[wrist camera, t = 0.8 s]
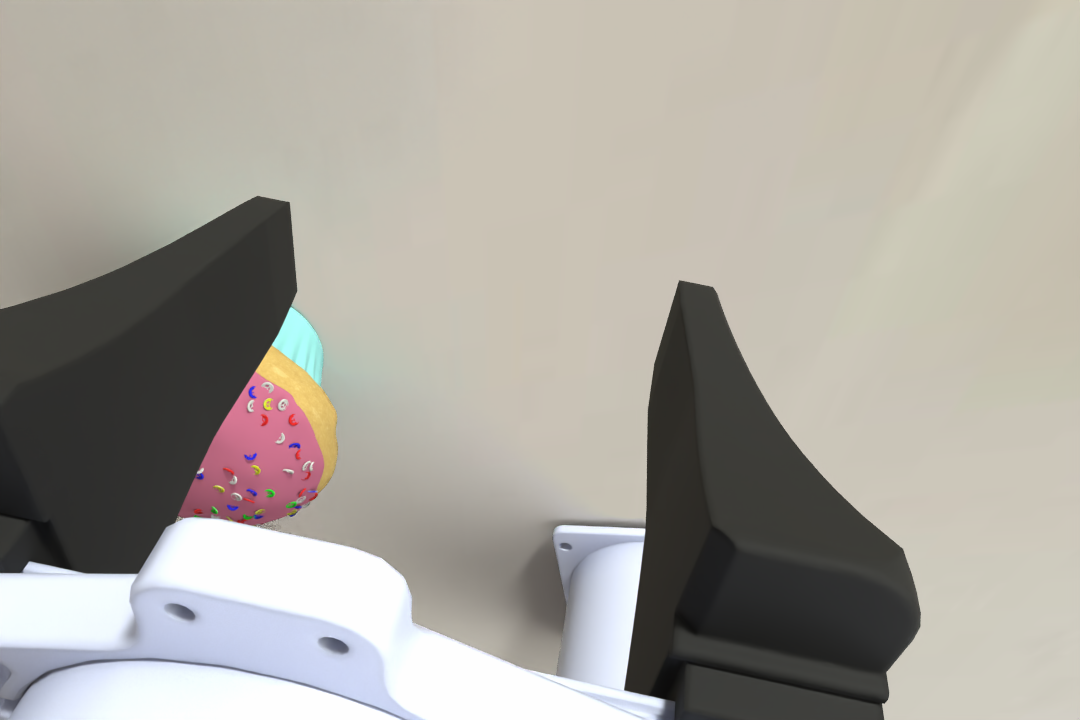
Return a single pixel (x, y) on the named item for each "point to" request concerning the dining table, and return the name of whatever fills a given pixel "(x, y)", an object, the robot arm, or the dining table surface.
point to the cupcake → (271, 438)
